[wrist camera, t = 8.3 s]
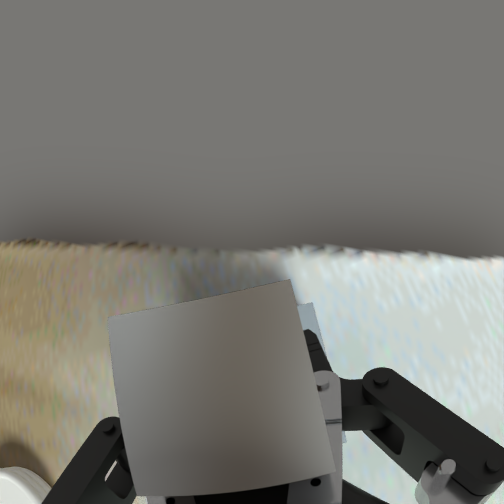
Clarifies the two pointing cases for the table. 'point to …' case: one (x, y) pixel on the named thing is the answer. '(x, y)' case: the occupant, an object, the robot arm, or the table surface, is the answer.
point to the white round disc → (21, 486)
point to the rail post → (218, 394)
